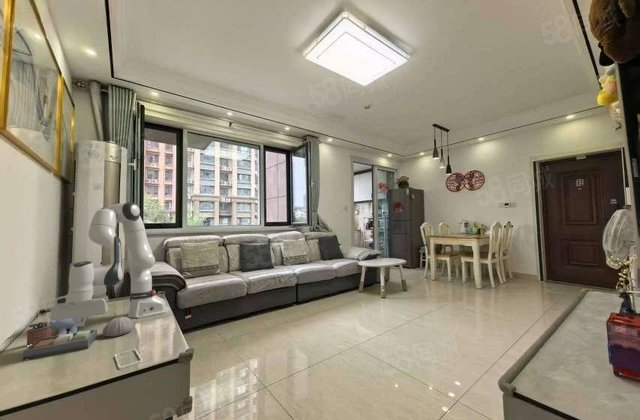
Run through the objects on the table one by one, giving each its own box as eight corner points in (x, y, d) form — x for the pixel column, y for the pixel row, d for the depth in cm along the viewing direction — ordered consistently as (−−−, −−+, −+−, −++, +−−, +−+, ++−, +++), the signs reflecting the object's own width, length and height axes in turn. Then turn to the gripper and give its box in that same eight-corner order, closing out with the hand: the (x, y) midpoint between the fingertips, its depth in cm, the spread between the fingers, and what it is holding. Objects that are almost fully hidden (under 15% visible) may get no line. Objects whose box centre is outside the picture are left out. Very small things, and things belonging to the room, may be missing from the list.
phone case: (142, 363, 105) (135, 351, 116) (142, 360, 105) (135, 348, 116) (119, 371, 100) (114, 357, 111) (119, 367, 100) (114, 354, 111)
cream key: (73, 337, 125) (73, 333, 125) (67, 343, 119) (67, 338, 119) (60, 339, 123) (60, 335, 123) (53, 345, 117) (53, 340, 117)
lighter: (50, 339, 131) (50, 319, 131) (51, 341, 129) (51, 320, 129) (26, 345, 125) (26, 324, 125) (26, 347, 122) (27, 325, 123)
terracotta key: (54, 342, 122) (54, 338, 122) (47, 349, 116) (47, 344, 116) (41, 345, 120) (41, 340, 120) (33, 351, 114) (33, 346, 114)
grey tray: (97, 337, 132) (97, 328, 132) (87, 348, 119) (88, 338, 120) (39, 347, 122) (39, 337, 123) (23, 360, 110) (23, 350, 110)
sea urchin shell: (117, 339, 129) (117, 322, 129) (94, 338, 131) (95, 321, 132) (140, 328, 142) (140, 313, 142) (120, 327, 144) (120, 312, 145)
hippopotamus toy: (47, 332, 141) (47, 314, 141) (84, 325, 150) (85, 308, 150) (42, 339, 132) (42, 319, 133) (82, 331, 141) (82, 313, 141)
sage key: (90, 334, 128) (90, 330, 128) (85, 339, 122) (85, 335, 122) (78, 336, 126) (78, 332, 126) (72, 342, 120) (72, 337, 120)
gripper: (110, 292, 132) (109, 320, 131) (55, 297, 123) (54, 328, 122) (106, 295, 127) (105, 324, 126) (49, 301, 118) (47, 333, 117)
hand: (79, 326), depth 124 cm, fingers closed
